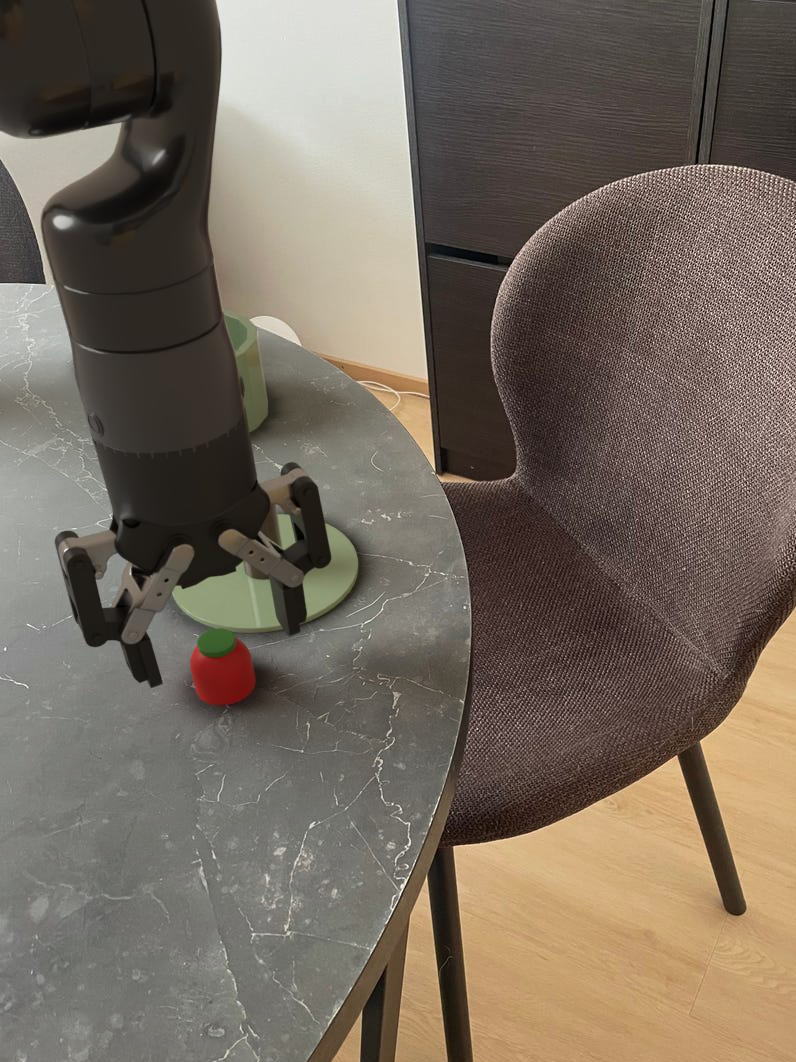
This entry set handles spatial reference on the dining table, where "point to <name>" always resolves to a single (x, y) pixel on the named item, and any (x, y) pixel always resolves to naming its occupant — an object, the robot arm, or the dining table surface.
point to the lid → (269, 585)
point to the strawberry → (222, 668)
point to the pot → (249, 366)
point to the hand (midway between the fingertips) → (221, 652)
